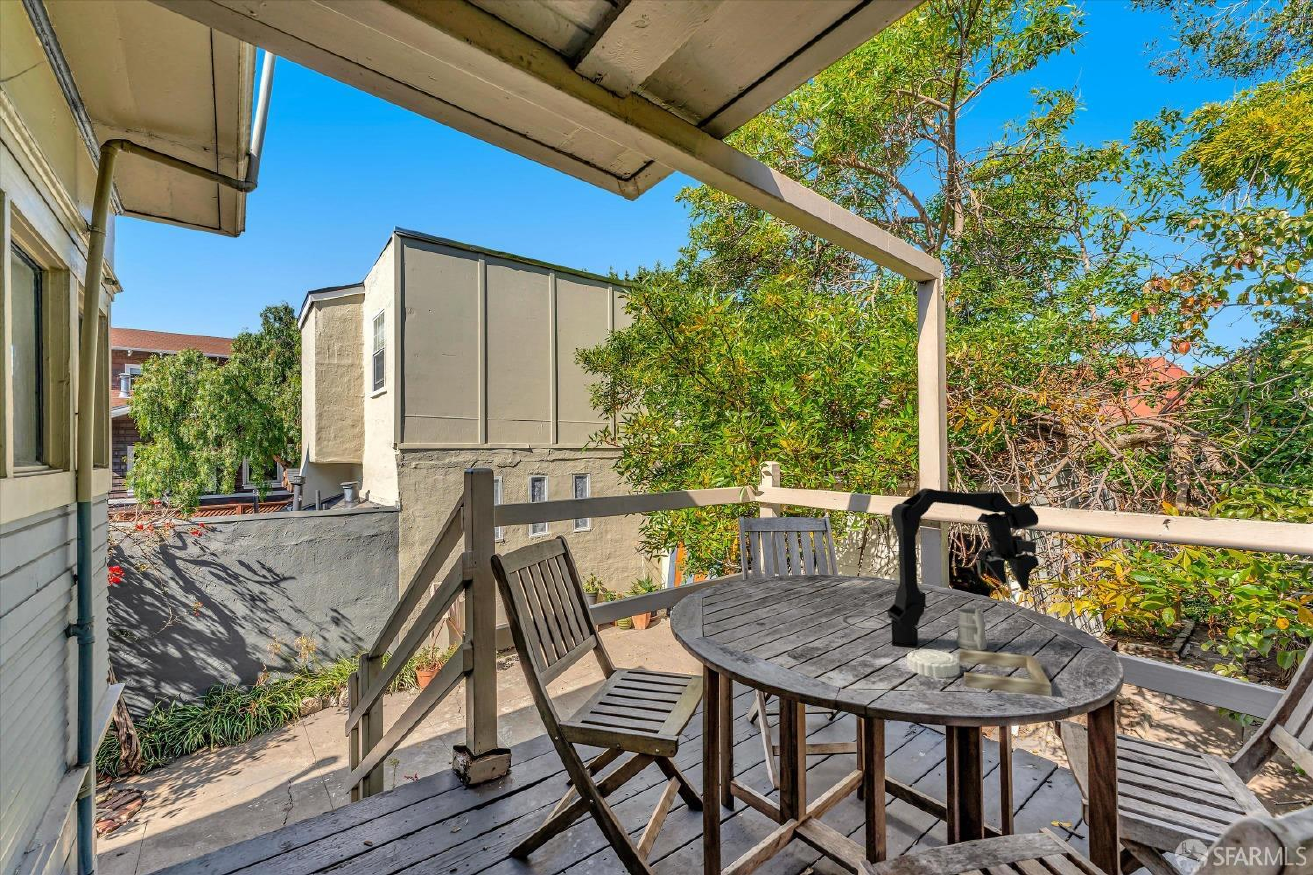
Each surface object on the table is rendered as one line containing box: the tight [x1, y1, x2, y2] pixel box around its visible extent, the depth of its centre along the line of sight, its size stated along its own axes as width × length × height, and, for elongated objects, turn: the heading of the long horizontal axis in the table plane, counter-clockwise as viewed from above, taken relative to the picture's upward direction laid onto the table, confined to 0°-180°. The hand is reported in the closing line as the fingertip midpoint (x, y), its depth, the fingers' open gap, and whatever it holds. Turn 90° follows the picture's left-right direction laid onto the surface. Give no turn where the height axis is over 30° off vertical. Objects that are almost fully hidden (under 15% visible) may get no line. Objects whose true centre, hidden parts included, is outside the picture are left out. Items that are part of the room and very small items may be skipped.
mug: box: [956, 607, 989, 651], centre depth 159 cm, size 8×12×12 cm, turn 171°
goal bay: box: [958, 648, 1052, 697], centre depth 140 cm, size 17×19×2 cm
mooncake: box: [906, 648, 961, 679], centre depth 146 cm, size 12×12×4 cm
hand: (1014, 586), depth 166 cm, fingers open, 9 cm apart
